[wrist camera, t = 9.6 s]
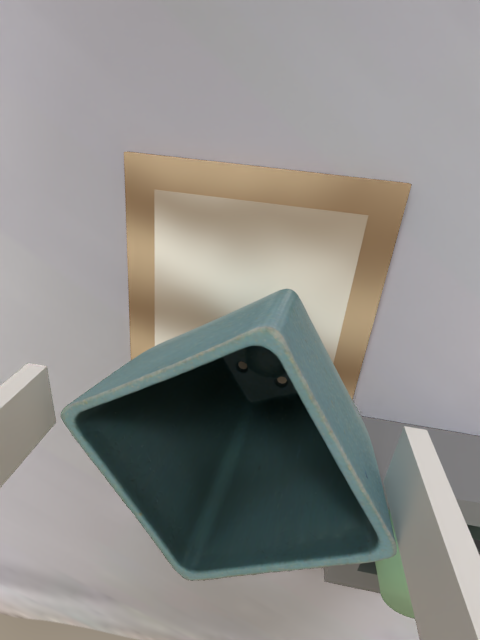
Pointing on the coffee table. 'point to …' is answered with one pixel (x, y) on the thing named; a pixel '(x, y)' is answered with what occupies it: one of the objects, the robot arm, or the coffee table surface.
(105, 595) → the coffee table surface
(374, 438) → the button box
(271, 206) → the board
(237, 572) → the flower pot
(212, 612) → the coffee table surface
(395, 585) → the button
